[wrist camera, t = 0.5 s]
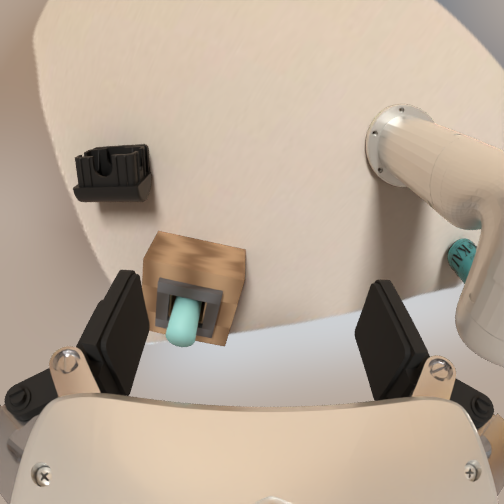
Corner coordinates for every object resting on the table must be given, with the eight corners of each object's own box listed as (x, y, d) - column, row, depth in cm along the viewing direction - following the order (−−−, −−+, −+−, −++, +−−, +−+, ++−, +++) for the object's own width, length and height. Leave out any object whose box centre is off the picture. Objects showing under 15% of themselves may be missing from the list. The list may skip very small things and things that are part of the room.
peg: (204, 287, 46) (196, 330, 38) (201, 306, 48) (193, 349, 40) (179, 281, 45) (166, 324, 37) (176, 301, 47) (164, 343, 39)
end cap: (96, 191, 42) (75, 209, 37) (90, 147, 39) (68, 160, 33) (154, 190, 43) (139, 209, 37) (151, 143, 39) (135, 155, 33)
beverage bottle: (470, 252, 48) (526, 319, 31) (445, 268, 50) (497, 341, 33) (465, 226, 45) (530, 293, 28) (439, 244, 47) (498, 317, 30)
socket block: (245, 249, 48) (244, 285, 40) (227, 313, 55) (224, 350, 47) (158, 230, 46) (141, 262, 38) (152, 297, 53) (139, 332, 45)
